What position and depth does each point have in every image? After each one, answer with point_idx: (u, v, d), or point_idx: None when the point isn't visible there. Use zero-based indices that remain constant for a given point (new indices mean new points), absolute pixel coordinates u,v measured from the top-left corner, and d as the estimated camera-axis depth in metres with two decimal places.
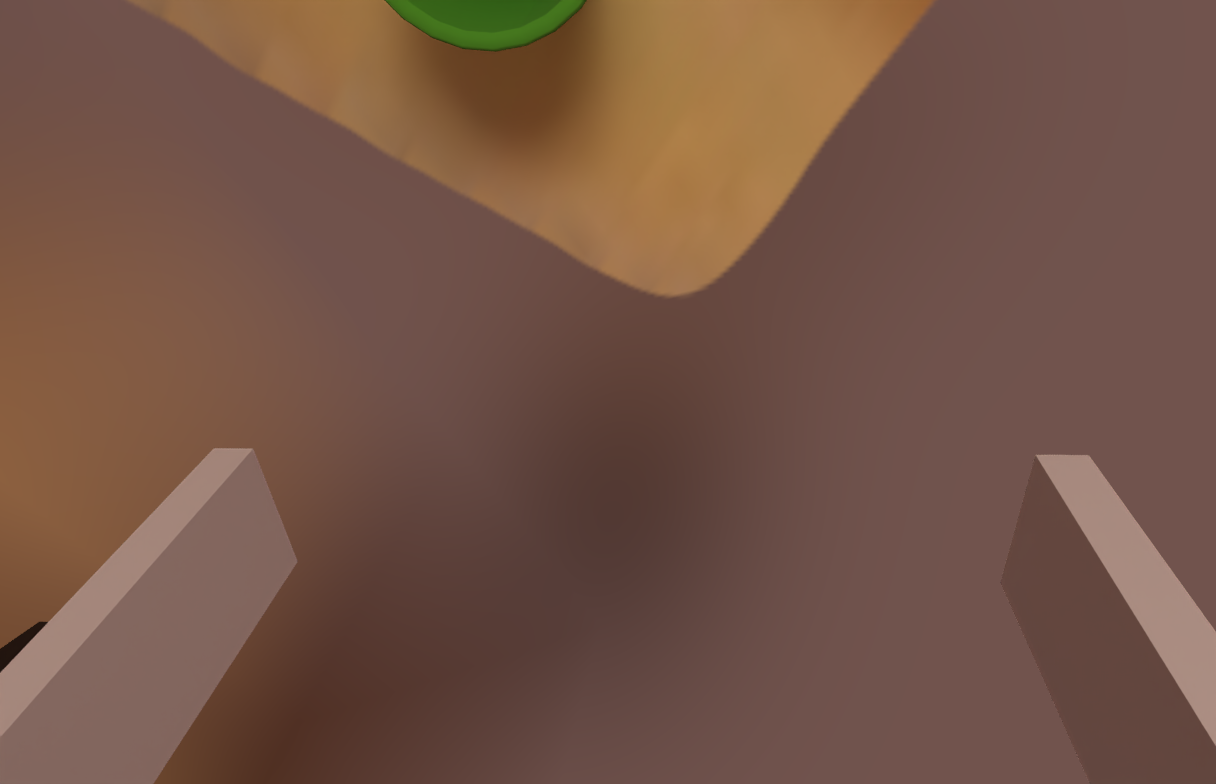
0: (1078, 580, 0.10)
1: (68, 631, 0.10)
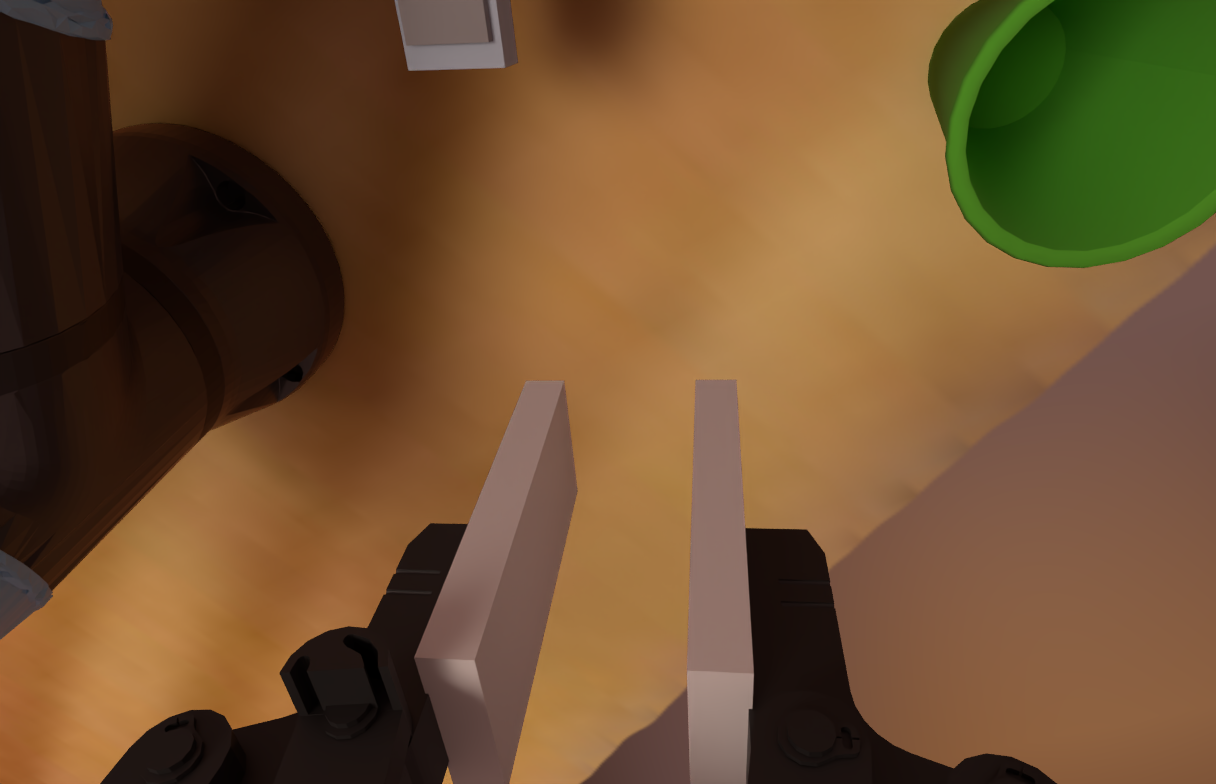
0: None
1: (496, 521, 0.11)
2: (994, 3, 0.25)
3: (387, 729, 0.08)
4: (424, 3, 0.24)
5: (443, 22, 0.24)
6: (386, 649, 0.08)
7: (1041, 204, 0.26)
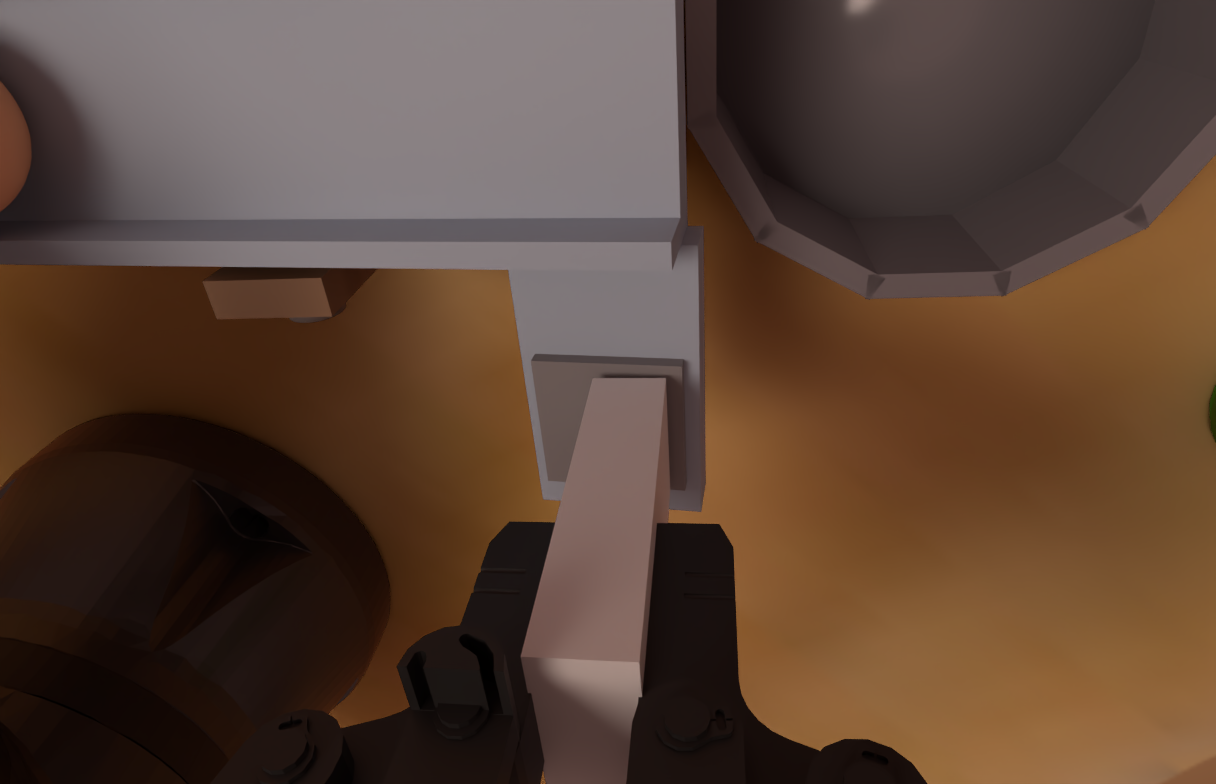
0: None
1: (583, 520, 0.11)
2: None
3: (497, 734, 0.08)
4: None
5: None
6: (501, 653, 0.08)
7: None
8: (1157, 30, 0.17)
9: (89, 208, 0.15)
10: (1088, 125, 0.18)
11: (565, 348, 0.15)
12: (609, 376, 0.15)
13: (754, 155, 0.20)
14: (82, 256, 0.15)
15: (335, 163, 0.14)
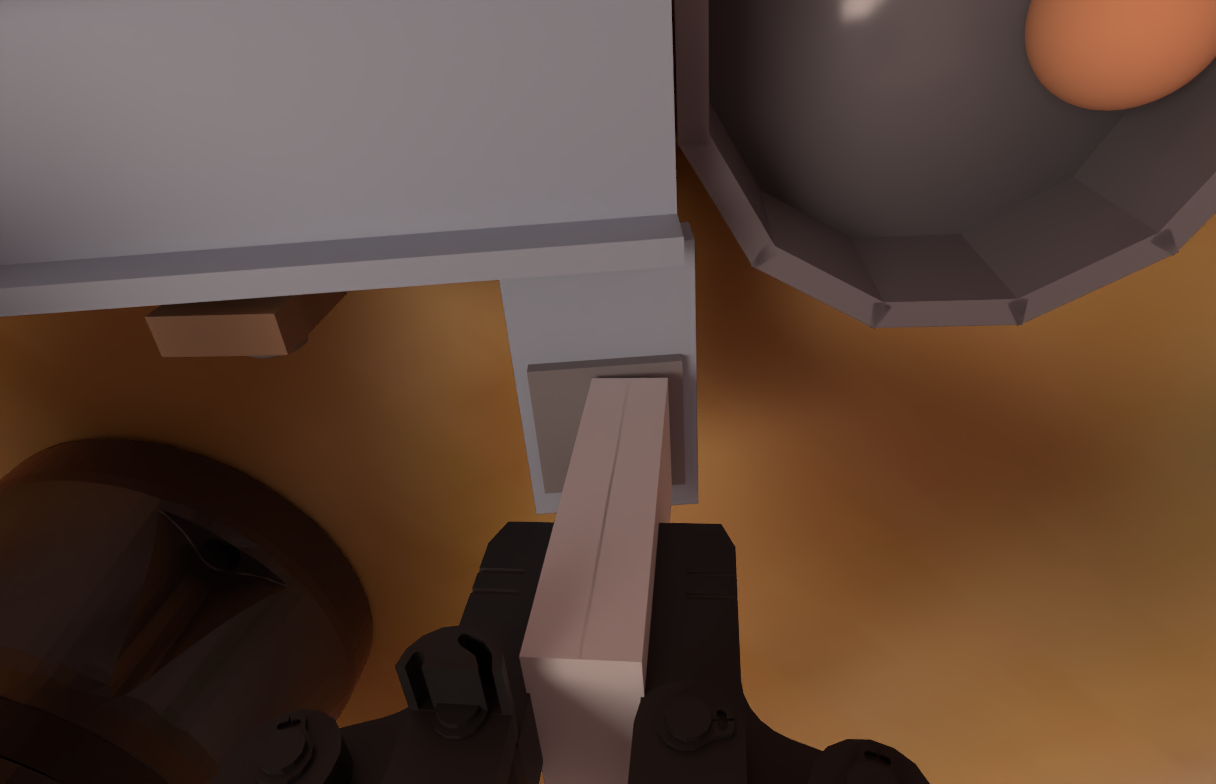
0: None
1: (582, 520, 0.11)
2: None
3: (496, 734, 0.08)
4: None
5: None
6: (500, 653, 0.08)
7: None
8: None
9: None
10: (1108, 140, 0.17)
11: (560, 355, 0.15)
12: None
13: (750, 171, 0.19)
14: None
15: (304, 181, 0.13)
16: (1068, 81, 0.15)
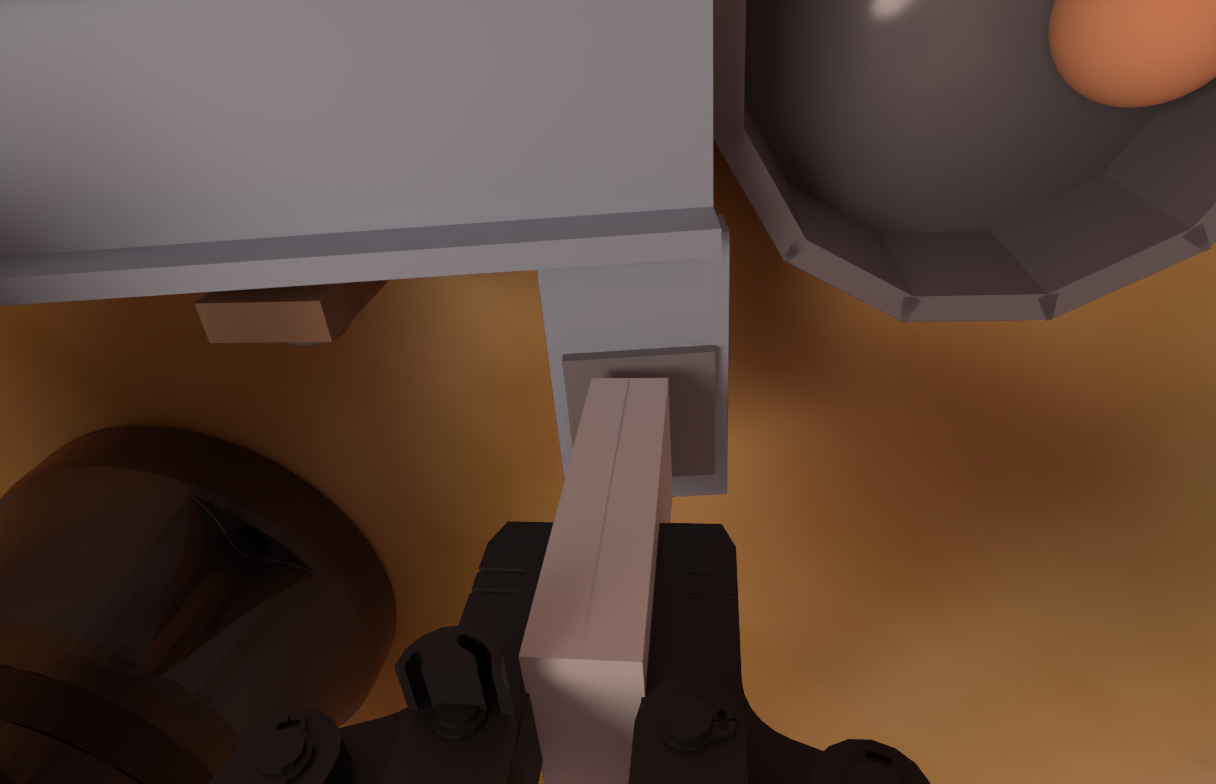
0: None
1: (582, 520, 0.11)
2: None
3: (495, 734, 0.08)
4: None
5: None
6: (499, 653, 0.08)
7: None
8: None
9: (48, 239, 0.14)
10: (1139, 137, 0.17)
11: (595, 345, 0.15)
12: (642, 369, 0.15)
13: (780, 167, 0.19)
14: (56, 292, 0.13)
15: (350, 172, 0.13)
16: (1084, 77, 0.15)
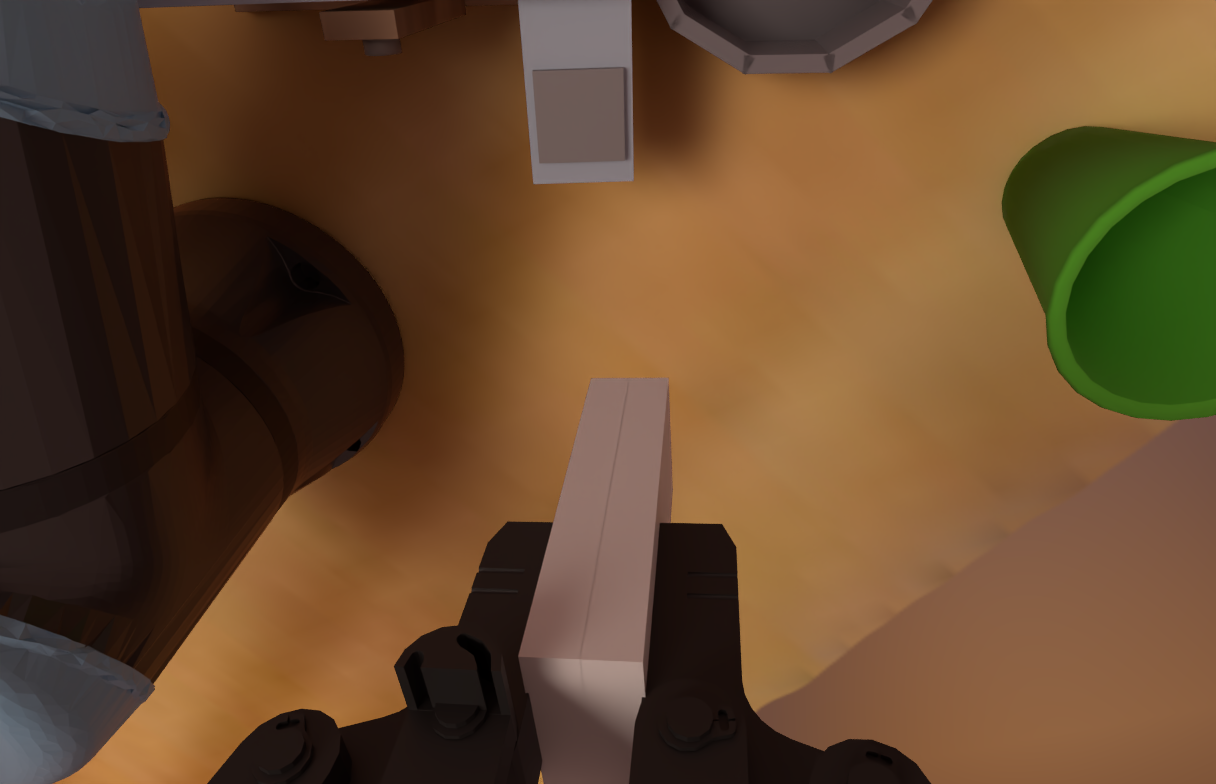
0: None
1: (581, 520, 0.11)
2: (1085, 154, 0.26)
3: (495, 734, 0.08)
4: (564, 127, 0.26)
5: (581, 143, 0.26)
6: (499, 653, 0.08)
7: (1120, 346, 0.27)
8: None
9: None
10: None
11: (552, 64, 0.25)
12: (580, 78, 0.25)
13: None
14: None
15: None
16: None
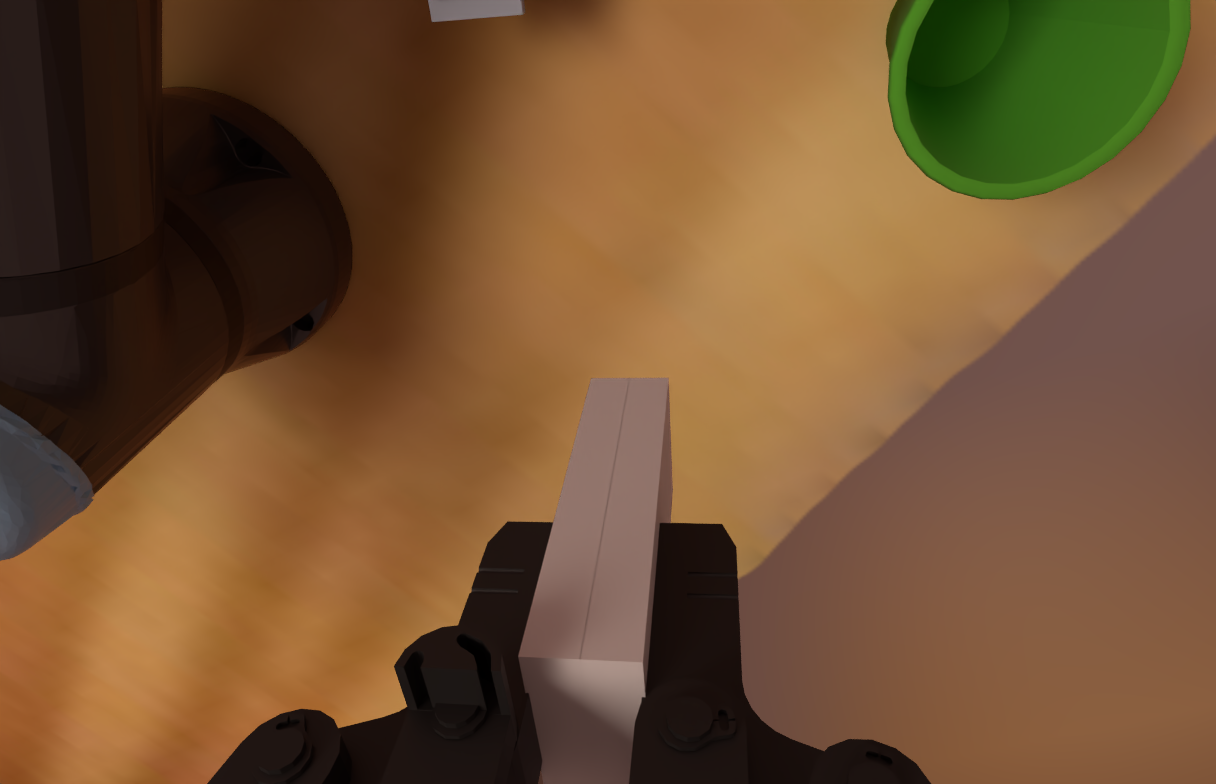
0: None
1: (581, 520, 0.11)
2: None
3: (495, 734, 0.08)
4: None
5: None
6: (499, 653, 0.08)
7: (980, 148, 0.29)
8: None
9: None
10: None
11: None
12: None
13: None
14: None
15: None
16: None
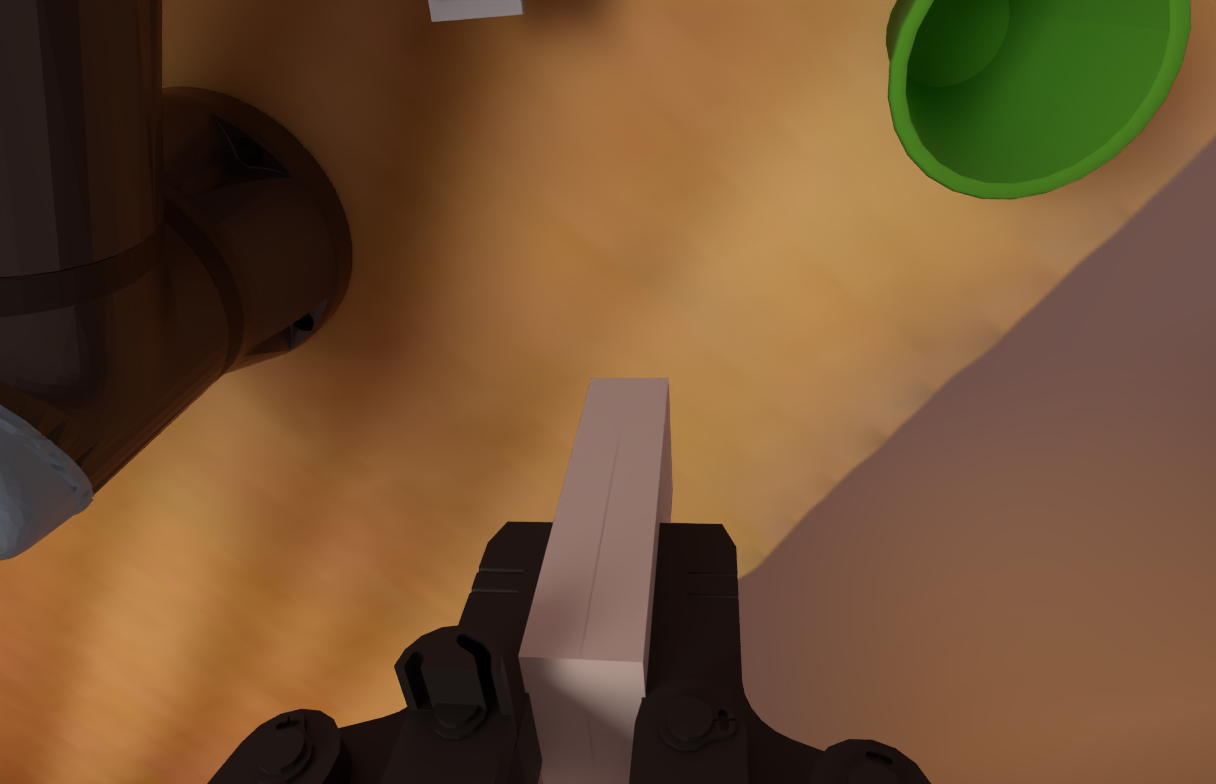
0: None
1: (582, 519, 0.11)
2: None
3: (495, 734, 0.08)
4: None
5: None
6: (499, 653, 0.08)
7: (980, 148, 0.29)
8: None
9: None
10: None
11: None
12: None
13: None
14: None
15: None
16: None
